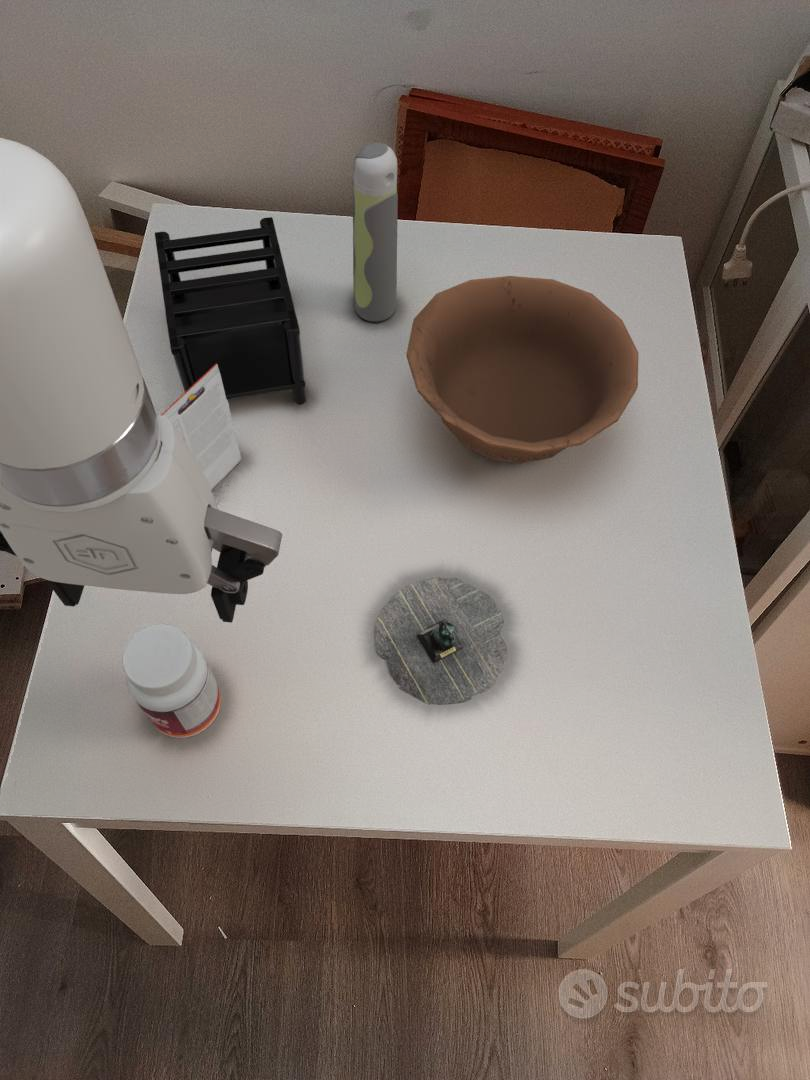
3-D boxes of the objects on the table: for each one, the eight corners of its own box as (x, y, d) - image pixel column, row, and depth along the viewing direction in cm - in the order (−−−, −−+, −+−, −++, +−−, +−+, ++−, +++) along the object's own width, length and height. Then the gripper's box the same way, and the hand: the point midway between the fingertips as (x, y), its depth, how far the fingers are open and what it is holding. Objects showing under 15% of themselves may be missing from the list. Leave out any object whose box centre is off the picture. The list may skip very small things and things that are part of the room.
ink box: (162, 497, 81) (123, 402, 68) (216, 444, 84) (188, 343, 72) (190, 516, 80) (156, 422, 67) (244, 461, 83) (220, 362, 71)
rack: (193, 422, 86) (170, 349, 76) (176, 312, 93) (154, 232, 84) (307, 403, 87) (299, 329, 78) (282, 296, 95) (272, 216, 85)
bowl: (442, 323, 94) (450, 245, 84) (631, 378, 90) (662, 304, 81) (371, 472, 83) (371, 402, 74) (583, 541, 80) (611, 477, 71)
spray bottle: (372, 330, 93) (372, 173, 75) (345, 306, 94) (338, 147, 77) (404, 310, 94) (412, 152, 77) (377, 286, 96) (378, 127, 79)
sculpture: (470, 728, 71) (419, 679, 67) (401, 708, 78) (350, 661, 73) (531, 615, 76) (486, 561, 71) (460, 605, 82) (415, 555, 78)
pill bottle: (134, 708, 70) (95, 659, 61) (187, 656, 73) (159, 601, 63) (184, 754, 69) (152, 712, 59) (237, 700, 71) (215, 650, 61)
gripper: (-159, 475, 35) (-2, 634, 50) (245, 515, 35) (282, 663, 50) (-90, 343, 39) (37, 528, 54) (275, 378, 39) (301, 554, 53)
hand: (155, 593), depth 52 cm, fingers open, 9 cm apart
